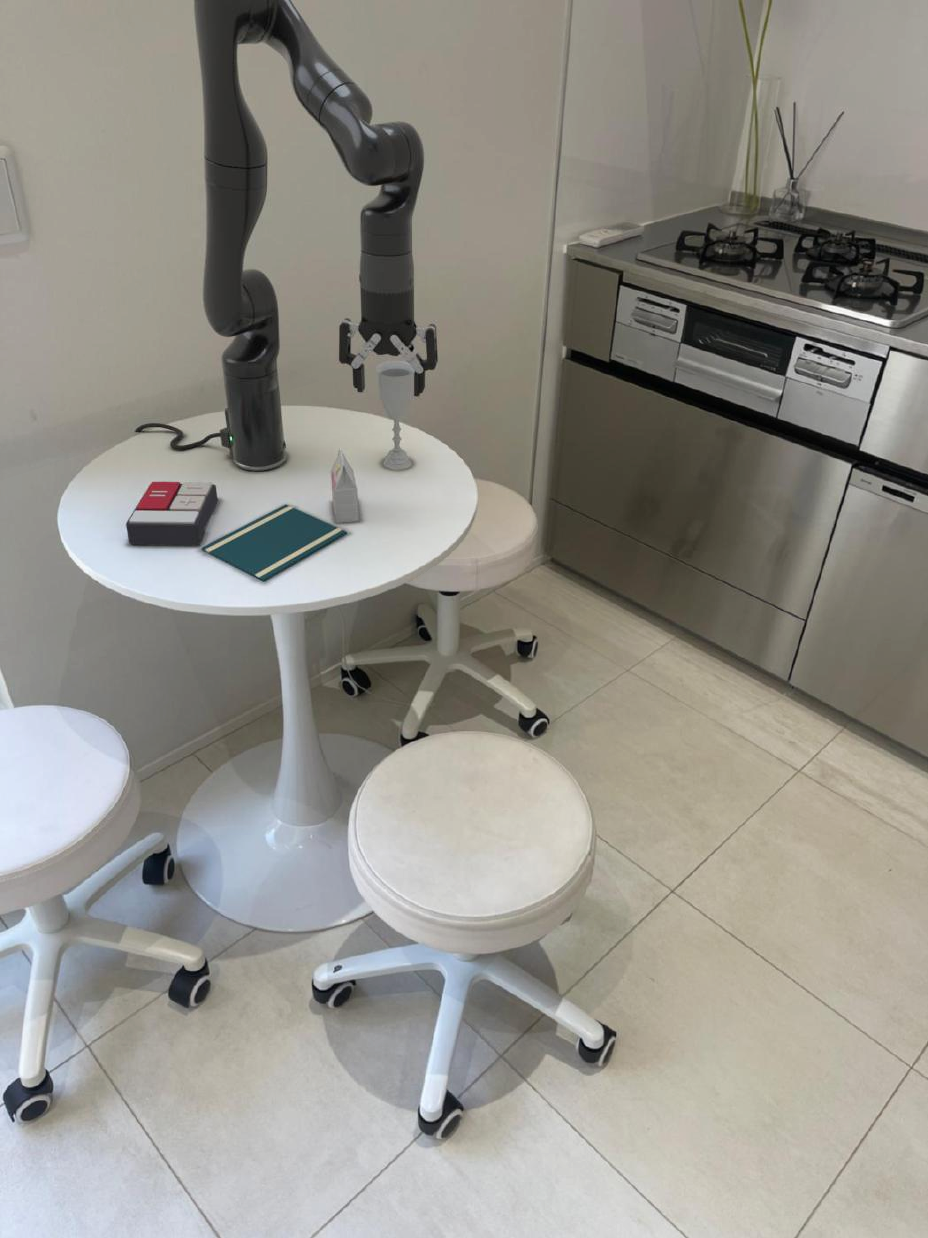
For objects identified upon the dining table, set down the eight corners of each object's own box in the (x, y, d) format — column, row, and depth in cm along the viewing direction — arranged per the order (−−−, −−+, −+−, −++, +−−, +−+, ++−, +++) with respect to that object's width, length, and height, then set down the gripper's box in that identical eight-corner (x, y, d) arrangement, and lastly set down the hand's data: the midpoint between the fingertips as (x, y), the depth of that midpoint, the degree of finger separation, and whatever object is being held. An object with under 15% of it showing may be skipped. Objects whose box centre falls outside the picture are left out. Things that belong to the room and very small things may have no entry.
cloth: (201, 549, 149) (201, 547, 149) (285, 506, 161) (285, 503, 160) (263, 581, 142) (263, 579, 142) (347, 533, 154) (346, 531, 154)
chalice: (410, 474, 171) (409, 378, 160) (373, 470, 172) (370, 374, 161) (420, 456, 177) (419, 362, 166) (384, 452, 178) (382, 358, 167)
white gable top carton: (354, 501, 163) (352, 447, 157) (358, 521, 157) (356, 466, 151) (332, 502, 162) (329, 448, 156) (336, 522, 157) (332, 467, 151)
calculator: (215, 479, 160) (195, 520, 147) (218, 503, 162) (199, 545, 150) (149, 478, 160) (124, 519, 147) (153, 502, 162) (128, 544, 149)
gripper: (441, 277, 136) (439, 386, 145) (343, 271, 137) (347, 379, 147) (433, 294, 130) (432, 406, 139) (330, 287, 131) (336, 399, 141)
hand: (389, 392), depth 143 cm, fingers open, 8 cm apart
